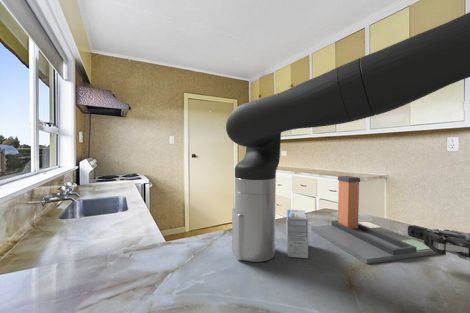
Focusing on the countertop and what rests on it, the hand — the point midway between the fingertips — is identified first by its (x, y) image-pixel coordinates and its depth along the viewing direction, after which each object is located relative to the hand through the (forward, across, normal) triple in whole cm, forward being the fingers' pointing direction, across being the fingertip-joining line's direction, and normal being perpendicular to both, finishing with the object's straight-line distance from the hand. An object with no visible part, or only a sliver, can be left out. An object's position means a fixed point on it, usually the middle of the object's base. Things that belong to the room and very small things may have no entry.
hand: (410, 230), depth 46 cm
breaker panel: (+12, -2, +6) cm, 13 cm away
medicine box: (+12, +20, +8) cm, 24 cm away
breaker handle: (+19, -2, +4) cm, 19 cm away
